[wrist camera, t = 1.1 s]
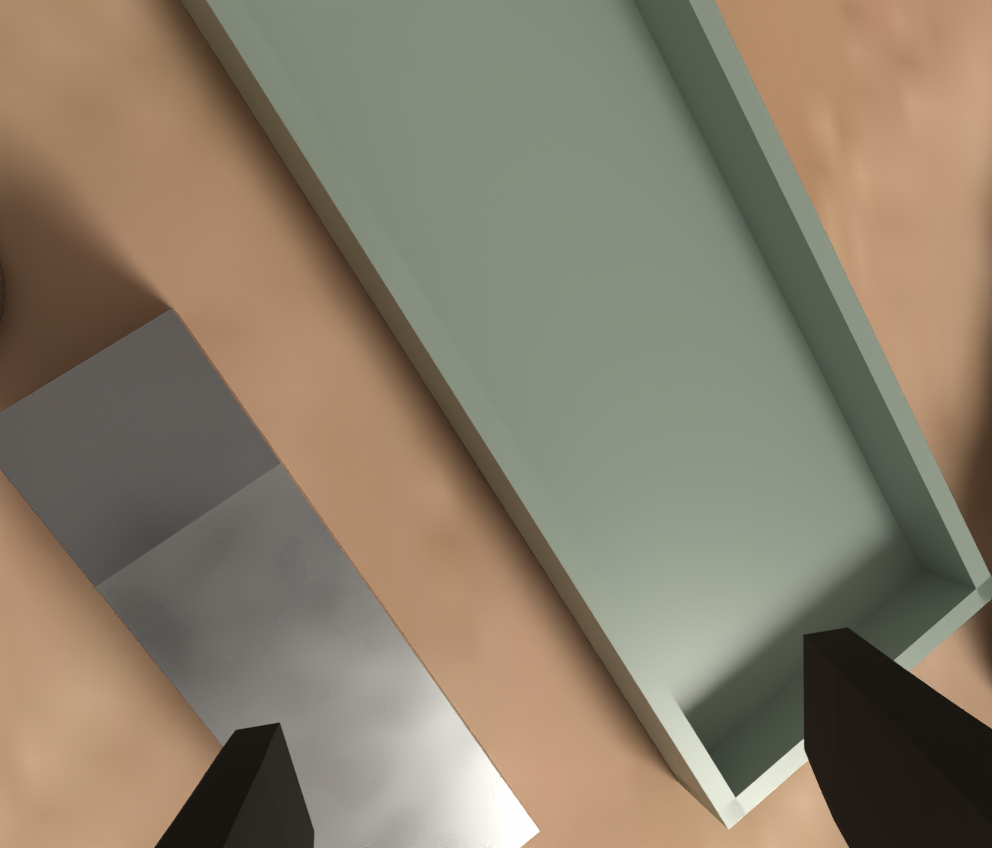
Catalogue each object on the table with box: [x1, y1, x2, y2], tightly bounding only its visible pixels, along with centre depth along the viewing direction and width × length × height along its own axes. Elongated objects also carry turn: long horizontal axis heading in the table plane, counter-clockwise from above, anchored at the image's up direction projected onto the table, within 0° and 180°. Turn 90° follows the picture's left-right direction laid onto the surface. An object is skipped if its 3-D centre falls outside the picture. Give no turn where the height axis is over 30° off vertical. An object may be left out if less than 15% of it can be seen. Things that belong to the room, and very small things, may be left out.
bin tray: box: [181, 0, 992, 830], centre depth 22 cm, size 10×24×2 cm, turn 33°
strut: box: [0, 308, 539, 848], centre depth 19 cm, size 4×14×4 cm, turn 33°
